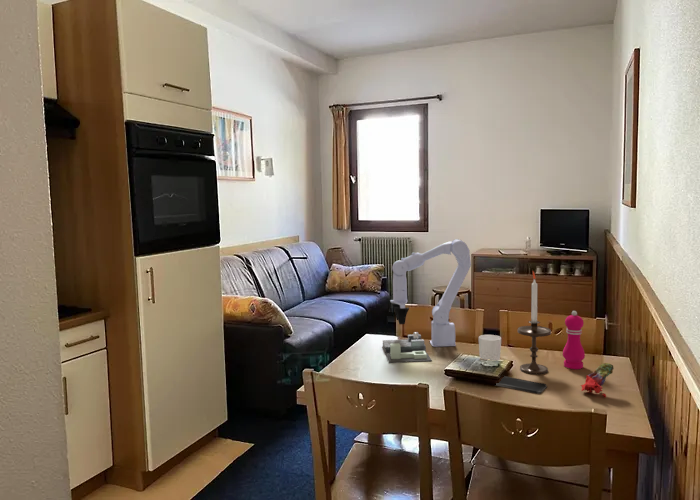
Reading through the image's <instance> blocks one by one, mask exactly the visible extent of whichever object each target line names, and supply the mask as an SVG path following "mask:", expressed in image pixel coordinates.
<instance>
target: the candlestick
mask: <svg viewBox="0 0 700 500" xmlns="http://www.w3.org/2000/svg"><path fill="white" fill-rule="evenodd" d="M532 279H533V281H532V283H531V315H530V316H531V317H530V318H531V320H528V321H527V323H529V324H530V325H523V326H519V327H518V328H517V333H518V334H520V335H522V336H526V337H531V347H529V351H530V352H531V354H530V355H529V356H530V358H531V363H522V364H521V365H520V366H519V370H520V371H521V372H522V373H524V374H529V375H544V374H547V373H548V371H549V370H548V369H549V368H548V367H547V366H546V365H542V364H538V363H537V358H538V355H537V352H538V351H539V347H537V338H538V337H539V338H540V337H541V338H542V337H547V336H550V335H551V334H552V330H551V329H550V328H549V327H544V326H541V325H538V324H540V323H541V322H540V321H539V320H538V283H537V282H536V275H535V272H534V271H532Z"/></svg>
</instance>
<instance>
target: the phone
mask: <svg viewBox="0 0 700 500" xmlns="http://www.w3.org/2000/svg"><path fill="white" fill-rule="evenodd" d="M503 376H504V377H503V378H502V379H501V381H500V382H499V383H496V385H495V386H497V387H501V388H507V389H512V390H517V391H520V392H521V391H522V392H527V393H531V394H537V395H540V394H542V393H543V392H544V391H546V389H547V385H548V384H546V383H543V382H536V381H533V380H532V381H531V380H526V379H520V378H516V377H510V376H505V375H503Z"/></svg>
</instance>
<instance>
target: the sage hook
mask: <svg viewBox="0 0 700 500" xmlns="http://www.w3.org/2000/svg"><path fill="white" fill-rule="evenodd" d="M426 352H427V351H426ZM426 352H425V351H412V352H406V353H401V346H400V344H399V343H392V344H390V353H389V354H390V356H391V359H401V358H414V359H422V358H427V354H428V353H427V354H426Z"/></svg>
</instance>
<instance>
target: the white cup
mask: <svg viewBox="0 0 700 500" xmlns="http://www.w3.org/2000/svg"><path fill="white" fill-rule="evenodd" d="M501 349H502V337H501V336H500V335H496V334H495V335H494V334H481V335H479V336H478V351H479V353H478V354H479V359H480V358H482V359H490V360H500V358H501ZM500 361H501V360H500Z"/></svg>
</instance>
